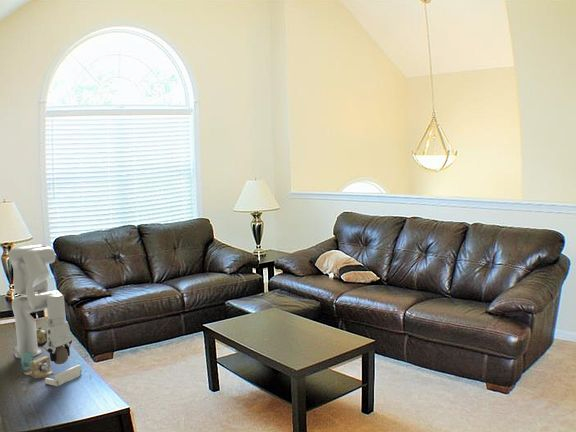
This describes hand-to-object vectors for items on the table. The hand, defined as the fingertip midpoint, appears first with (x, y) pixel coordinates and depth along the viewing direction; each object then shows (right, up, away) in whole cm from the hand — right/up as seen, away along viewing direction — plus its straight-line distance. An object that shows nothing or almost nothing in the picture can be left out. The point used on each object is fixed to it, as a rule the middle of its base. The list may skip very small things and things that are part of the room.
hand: (60, 358), depth 264 cm
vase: (0, -2, 0) cm, 3 cm away
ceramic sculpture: (-33, -5, +57) cm, 66 cm away
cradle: (+1, -10, +1) cm, 10 cm away
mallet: (-15, -8, +9) cm, 20 cm away
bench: (-14, -10, +9) cm, 19 cm away
